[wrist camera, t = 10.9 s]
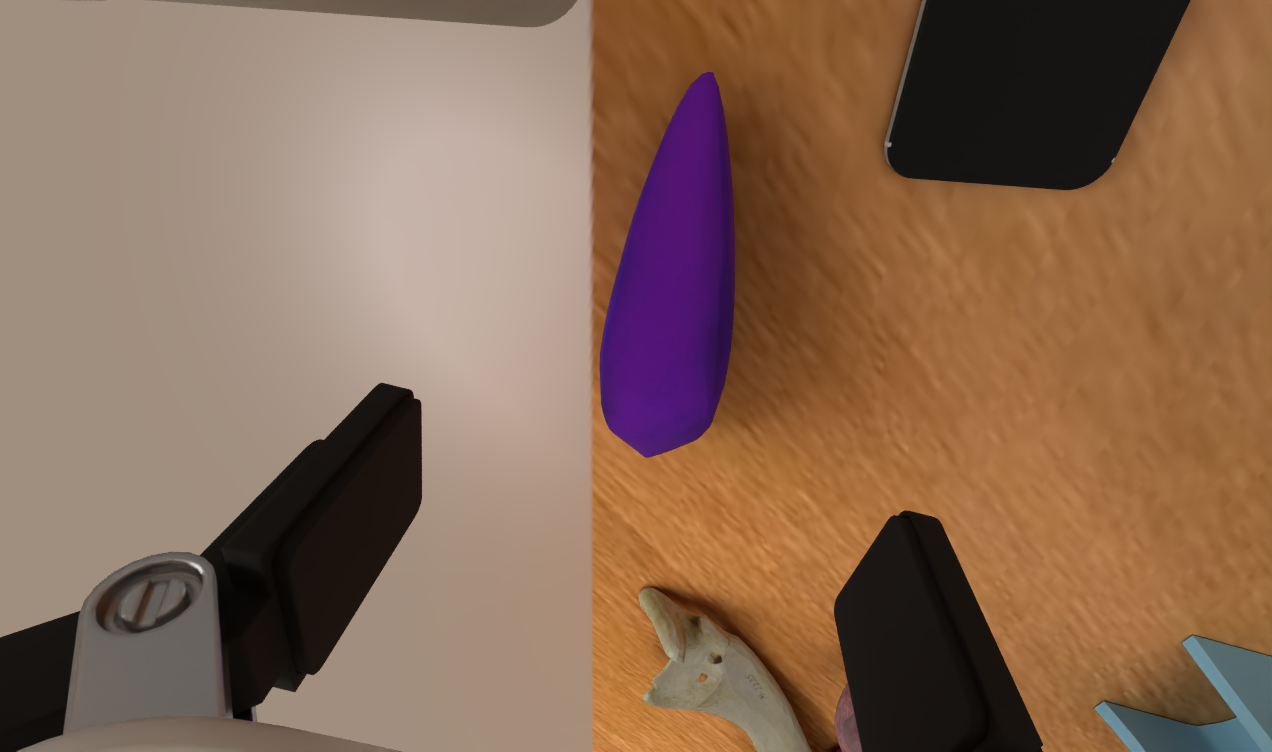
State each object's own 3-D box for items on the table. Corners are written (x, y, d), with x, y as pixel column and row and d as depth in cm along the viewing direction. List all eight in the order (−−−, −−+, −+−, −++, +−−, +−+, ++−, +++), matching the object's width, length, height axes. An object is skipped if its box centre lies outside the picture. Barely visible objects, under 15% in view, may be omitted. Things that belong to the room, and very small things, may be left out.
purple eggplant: (790, 75, 15) (704, 501, 22) (773, 84, 20) (706, 437, 26) (621, 56, 16) (586, 481, 22) (641, 69, 20) (607, 421, 27)
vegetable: (899, 619, 32) (962, 830, 23) (949, 675, 34) (1024, 889, 25) (805, 649, 34) (831, 850, 26) (856, 700, 36) (896, 902, 28)
